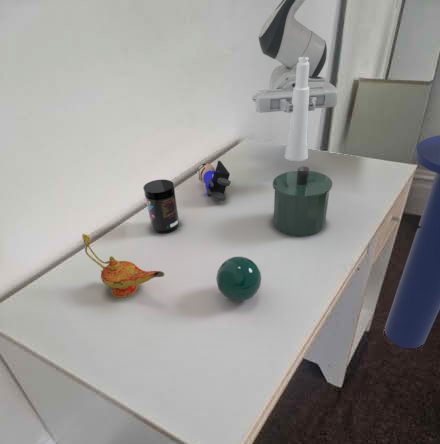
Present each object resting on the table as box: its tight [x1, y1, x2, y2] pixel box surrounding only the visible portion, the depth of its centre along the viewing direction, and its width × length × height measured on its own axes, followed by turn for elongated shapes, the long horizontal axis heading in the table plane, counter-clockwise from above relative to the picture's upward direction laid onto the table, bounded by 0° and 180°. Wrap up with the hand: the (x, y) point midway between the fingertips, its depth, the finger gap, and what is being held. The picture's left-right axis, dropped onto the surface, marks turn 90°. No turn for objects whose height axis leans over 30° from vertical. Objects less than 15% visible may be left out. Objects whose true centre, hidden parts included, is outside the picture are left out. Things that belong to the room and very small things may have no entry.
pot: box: [273, 189, 330, 237], centre depth 83 cm, size 12×12×10 cm
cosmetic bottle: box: [283, 57, 309, 162], centre depth 88 cm, size 6×6×22 cm
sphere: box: [215, 256, 262, 302], centre depth 66 cm, size 8×8×8 cm
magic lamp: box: [81, 233, 165, 299], centre depth 68 cm, size 7×18×11 cm, turn 63°
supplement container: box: [142, 179, 180, 234], centre depth 85 cm, size 7×7×10 cm
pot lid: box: [272, 166, 333, 198], centre depth 79 cm, size 13×13×4 cm
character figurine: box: [196, 160, 232, 202], centre depth 98 cm, size 8×7×15 cm
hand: (301, 107), depth 87 cm, fingers closed on cosmetic bottle, 3 cm apart
